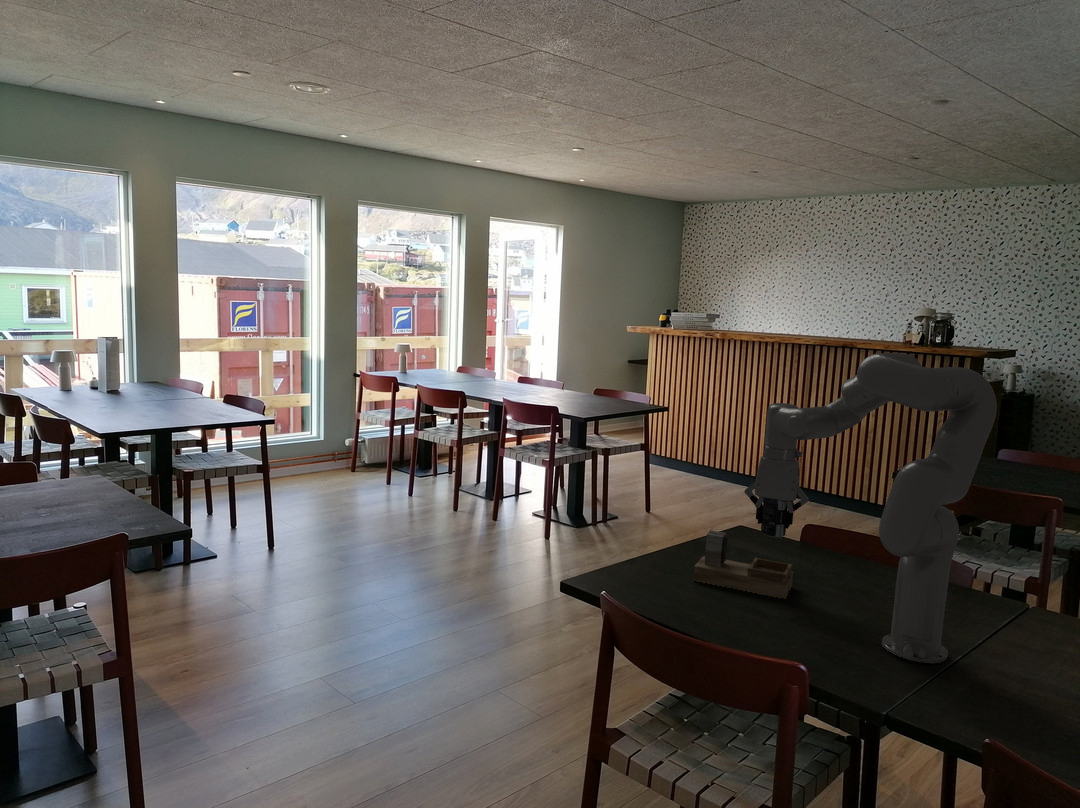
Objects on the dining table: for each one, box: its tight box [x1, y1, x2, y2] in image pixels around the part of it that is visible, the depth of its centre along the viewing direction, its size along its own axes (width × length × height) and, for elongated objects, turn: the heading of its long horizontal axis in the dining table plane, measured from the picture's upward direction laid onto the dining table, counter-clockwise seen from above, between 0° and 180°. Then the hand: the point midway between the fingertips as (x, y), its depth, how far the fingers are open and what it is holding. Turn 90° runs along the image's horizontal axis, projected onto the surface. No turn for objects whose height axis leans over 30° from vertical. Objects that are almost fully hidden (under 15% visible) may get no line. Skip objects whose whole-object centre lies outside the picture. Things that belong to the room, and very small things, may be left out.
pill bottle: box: [760, 498, 788, 538], centre depth 194 cm, size 6×6×11 cm
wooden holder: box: [692, 529, 794, 600], centre depth 199 cm, size 10×23×12 cm, turn 64°
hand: (773, 524), depth 194 cm, fingers closed on pill bottle, 6 cm apart
